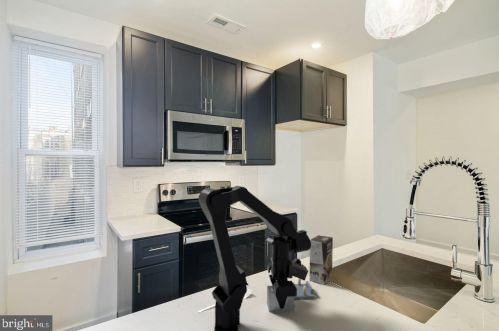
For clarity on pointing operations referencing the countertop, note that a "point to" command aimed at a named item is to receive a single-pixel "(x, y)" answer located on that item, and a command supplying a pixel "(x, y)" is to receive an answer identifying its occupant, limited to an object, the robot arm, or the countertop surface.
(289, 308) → the block
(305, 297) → the tray
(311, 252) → the coffee box
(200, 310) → the fork
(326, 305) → the countertop surface
